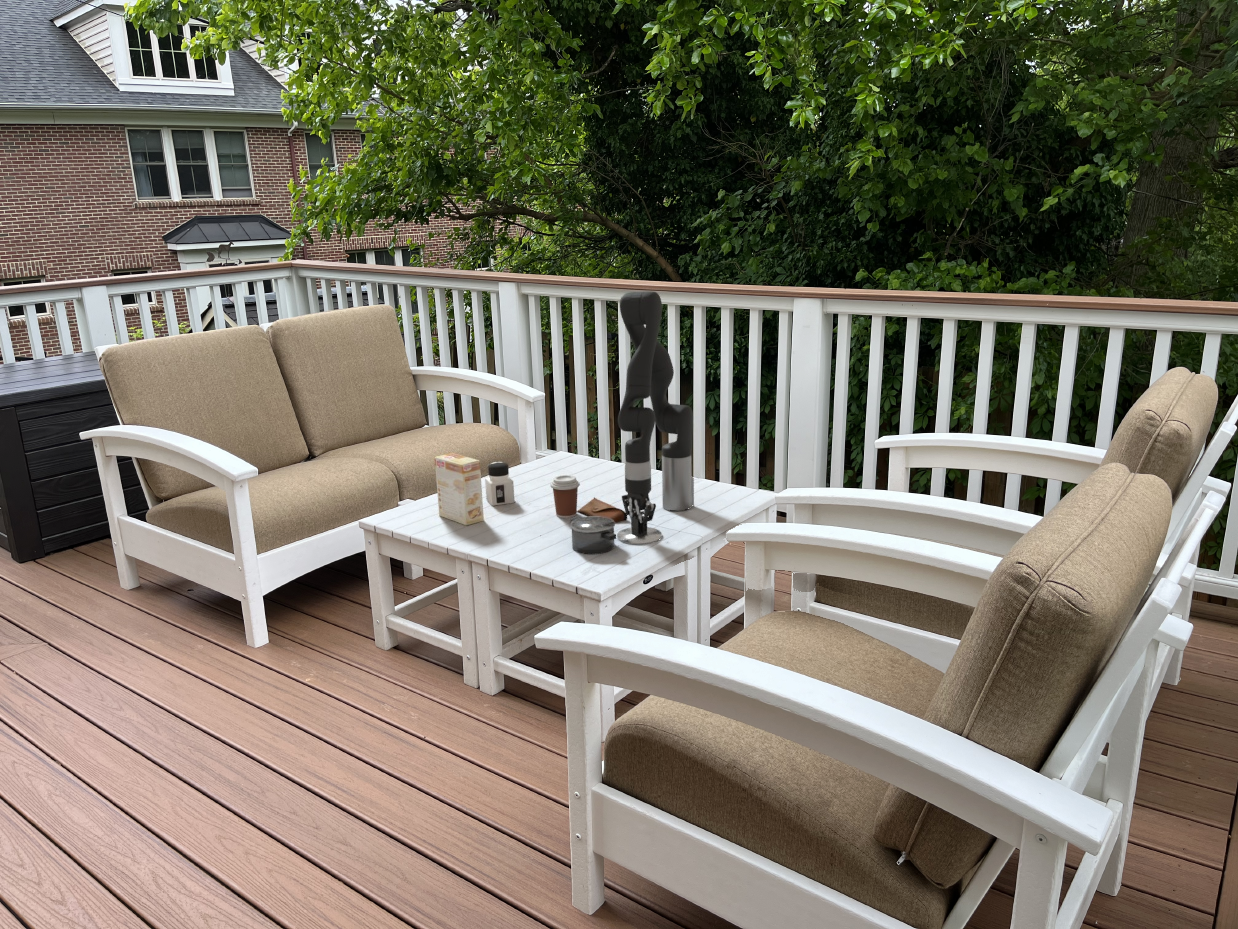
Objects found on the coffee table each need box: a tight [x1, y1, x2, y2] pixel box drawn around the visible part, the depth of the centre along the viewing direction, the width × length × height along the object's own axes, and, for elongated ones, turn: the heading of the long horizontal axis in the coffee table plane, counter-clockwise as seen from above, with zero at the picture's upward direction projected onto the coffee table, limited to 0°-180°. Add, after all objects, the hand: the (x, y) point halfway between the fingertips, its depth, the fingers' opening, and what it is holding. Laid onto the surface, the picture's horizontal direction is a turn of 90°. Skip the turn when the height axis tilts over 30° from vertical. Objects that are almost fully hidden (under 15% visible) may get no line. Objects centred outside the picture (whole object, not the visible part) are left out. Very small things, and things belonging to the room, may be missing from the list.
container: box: [484, 461, 516, 507], centre depth 311 cm, size 8×8×13 cm
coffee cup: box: [550, 474, 581, 519], centre depth 296 cm, size 9×9×12 cm
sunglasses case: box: [577, 496, 628, 524], centre depth 296 cm, size 18×7×7 cm, turn 35°
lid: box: [616, 515, 663, 546], centre depth 276 cm, size 13×13×6 cm
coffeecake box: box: [434, 452, 485, 526], centre depth 295 cm, size 15×7×20 cm, turn 44°
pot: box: [569, 516, 617, 555], centre depth 269 cm, size 13×19×7 cm, turn 36°
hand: (639, 532), depth 276 cm, fingers closed on lid, 3 cm apart
